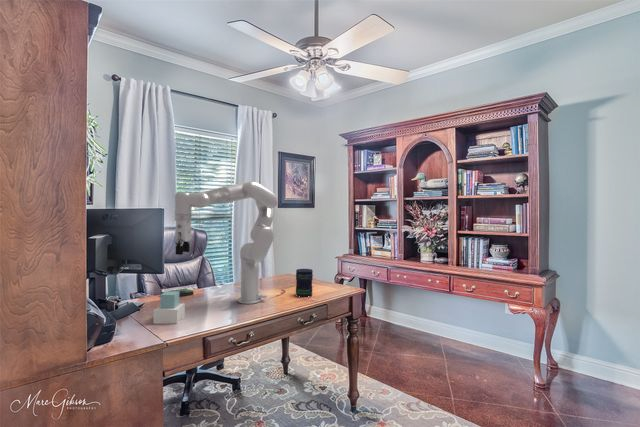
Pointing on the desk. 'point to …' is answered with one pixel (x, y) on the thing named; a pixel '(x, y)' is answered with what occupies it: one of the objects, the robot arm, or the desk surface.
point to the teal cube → (169, 299)
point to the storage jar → (304, 282)
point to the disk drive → (183, 292)
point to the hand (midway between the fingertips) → (182, 253)
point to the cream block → (169, 314)
